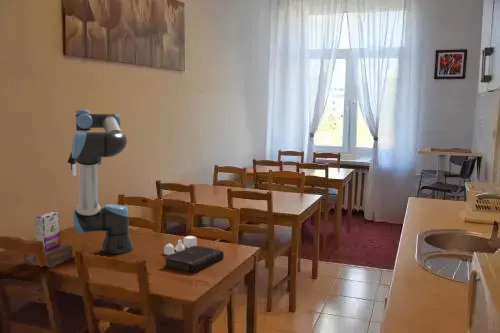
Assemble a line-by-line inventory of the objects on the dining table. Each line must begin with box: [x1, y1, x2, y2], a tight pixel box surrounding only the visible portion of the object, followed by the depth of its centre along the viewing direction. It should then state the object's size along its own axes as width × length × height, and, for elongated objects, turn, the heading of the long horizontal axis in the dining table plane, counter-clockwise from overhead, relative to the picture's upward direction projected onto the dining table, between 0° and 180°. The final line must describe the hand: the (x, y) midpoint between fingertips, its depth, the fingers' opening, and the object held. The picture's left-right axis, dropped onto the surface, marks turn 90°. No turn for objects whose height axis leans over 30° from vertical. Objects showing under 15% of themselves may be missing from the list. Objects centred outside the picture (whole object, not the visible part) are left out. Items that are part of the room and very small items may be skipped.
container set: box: [163, 235, 198, 256], centre depth 245 cm, size 20×5×6 cm, turn 142°
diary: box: [162, 245, 225, 274], centre depth 225 cm, size 19×25×5 cm
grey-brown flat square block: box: [23, 244, 74, 268], centre depth 225 cm, size 15×15×6 cm
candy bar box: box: [34, 211, 61, 252], centre depth 224 cm, size 11×5×16 cm, turn 166°
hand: (84, 176), depth 263 cm, fingers open, 13 cm apart
